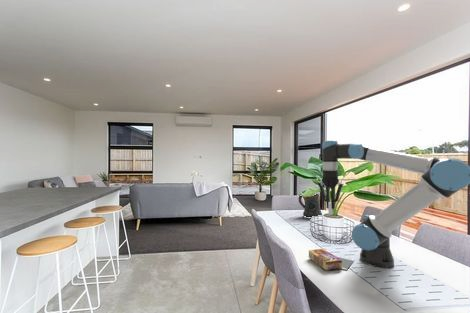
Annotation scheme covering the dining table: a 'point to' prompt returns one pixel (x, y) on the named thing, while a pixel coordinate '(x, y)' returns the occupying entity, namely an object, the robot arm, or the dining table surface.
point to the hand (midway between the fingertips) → (330, 214)
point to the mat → (345, 263)
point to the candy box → (325, 259)
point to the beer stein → (311, 206)
